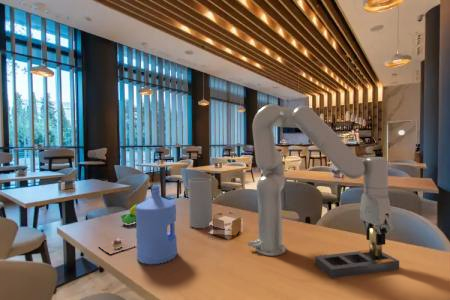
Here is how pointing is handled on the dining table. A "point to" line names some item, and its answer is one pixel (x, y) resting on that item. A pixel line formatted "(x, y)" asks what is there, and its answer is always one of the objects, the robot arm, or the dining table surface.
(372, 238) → the brass peg
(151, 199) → the water jug
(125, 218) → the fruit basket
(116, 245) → the dessert
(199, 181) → the cylinder vase
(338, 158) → the robot arm
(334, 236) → the dining table surface
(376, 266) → the grey compartment tray
